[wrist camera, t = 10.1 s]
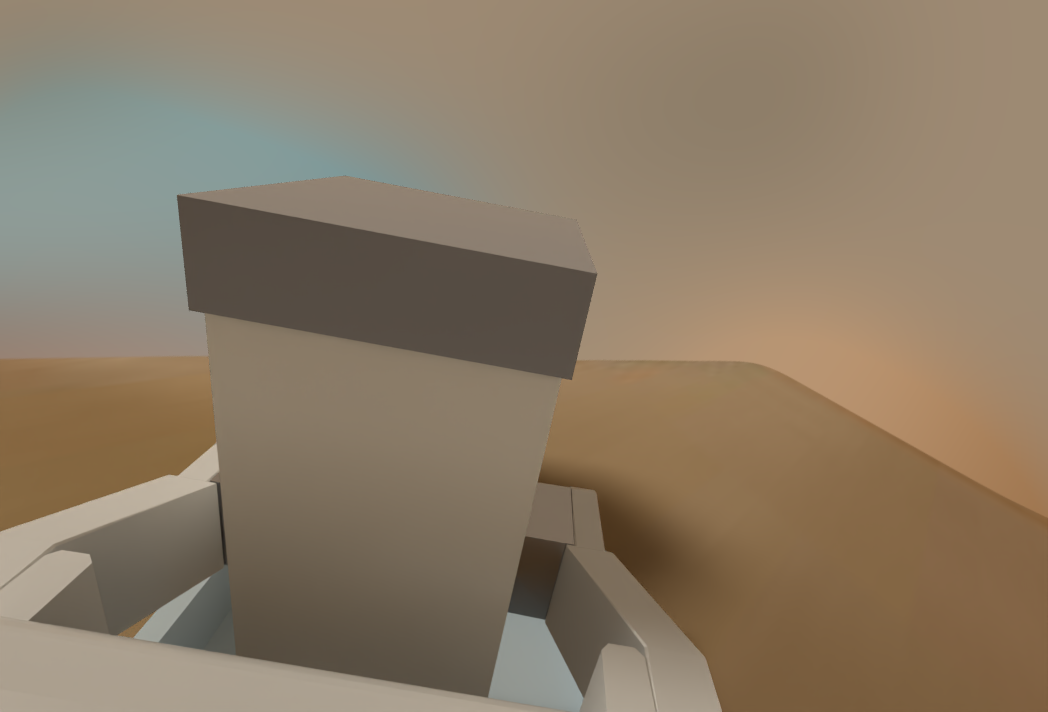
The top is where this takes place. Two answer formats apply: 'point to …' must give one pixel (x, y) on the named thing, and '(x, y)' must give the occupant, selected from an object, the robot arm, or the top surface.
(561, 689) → the tray
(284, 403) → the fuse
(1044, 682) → the top surface
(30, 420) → the top surface
